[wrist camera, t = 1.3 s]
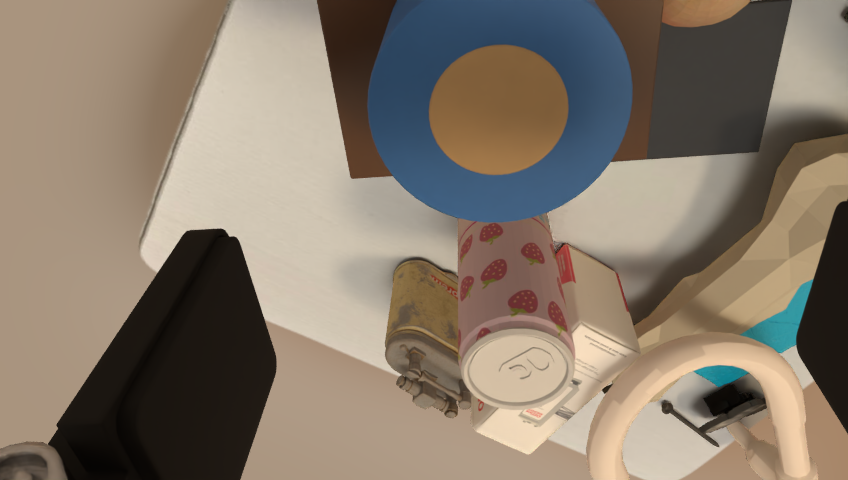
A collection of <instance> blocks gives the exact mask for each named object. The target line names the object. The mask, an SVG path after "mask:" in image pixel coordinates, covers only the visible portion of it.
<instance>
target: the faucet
mask: <svg viewBox="0 0 848 480" xmlns="http://www.w3.org/2000/svg"><path fill="white" fill-rule="evenodd" d="M715 365H726V366H734V367H738V368H742V369H744V370H746V371H747V372H749V373H750V374H752V375H753V376H754V377H755V378H756V379H757V380H758V382H759V383H760V385H761V388H762V390H763V393H764V395H765V400H766V405H767V411H768V416H769V419H770V420H771V422H772V423H773V427H774V433H775V438H776V444H777V447H776V446H775V445H772V444H769V443H767V442H765V441H764V440H758V439H757V438H756V437H755V436H754V435H753V434H752V433H751V432H750V431H749V430H748V429H747V428H746V427H745V426H744V425H743V424H742V423H741V422H740V421H736V422H734V423H732V424H730V425H728V426H726V427H727V429H728V430H729V432H730V434H731V435H732V436H733V437H734V438H735V440H736V441H737V442H738V443H739V444H740V446H741V447H742V448H743V449H744V450H745V453H746V459H747V461H748V462H749V465H750V467H751V468H752V469H753V470H754V471H755V472H756V473H757V474H758V475H759V476H760V477H761V478H762V479H763V480H818V472H817V466H816V464H815V463H814V461H813V460H812V458H811V457H809V453H808V446H807V439H806V432H805V425H804V423H805V422H806V411H805V404H804V398H803V391H802V388H801V385H800V382H799V379H798V377H797V376H796V374H795V372H794V371H793V369H792V368H791V366H790V365H789V364H788V362H787V361H786V360H785V359H784V358H783V357H782V356H781V355H780V354H779V353H778V352H777V351H775V350H774V349H773V348H771V347H769V346H767V345H765V344H763V343H761V342H759V341H756V340H754V339H751V338H748V337H744V336H741V335H737V334H733V333H720V332H707V333H700V334H694V335H688V336H682V337H680V338H677V339H674V340H671V341H668V342H665V343H663V344H661V345H659V346H657V347H656V348H654V349H652V350H651V351H649V352H647V353H646V354H644V355H642V356H641V357H640V358H639V359H638V360H636V361H635V362H634V363H633V364H632V365H631V366H630V367H629V368H627V369H626V370H625V371H624V372H623V373H622V375H621V376H620V377H619V378H618V379H617V380H616V382H615V383H614V384H613V385H612V386H611V387H610V389H609V390H608V392H607V393H606V395H605V396H604V398H603V400H602V401H601V403H600V404H599V406H598V408H597V410H596V413H595V415H594V418H593V420H592V423H591V426H590V431H589V436H588V442H587V447H586V454H587V465H588V468H589V471H590V473H591V476H592V479H593V480H629V475H628V472H627V470H626V467H625V465H624V462H623V457H622V446H623V441H624V438H625V436H626V434H627V432H628V429H629V427H630V425H631V424H632V422H633V421H634V419H635V418H636V416H637V415H638V413H639V412H640V410H641V409H642V408H643V407H644V406H645V405H646V404H647V403H648V402H649V401H650V400H651V398H652V397H653V396H654V395H656V394H657V393H658V392H659V391H661V390H662V389H663V388H664V387H666V386H667V385H668V384H669V383H671V382H673V381H675V380H676V379H678V378H680V377H681V376H683V375H685V374H686V373H689V372H692V371H695V370H697V369H700V368H703V367H707V366H715Z"/></svg>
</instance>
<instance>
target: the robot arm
mask: <svg viewBox="0 0 848 480" xmlns="http://www.w3.org/2000/svg"><path fill="white" fill-rule="evenodd" d="M796 345H797V350H798V354H799V356H800V358H801V359H802V361H803V363H804V364H805V366H806V368H807V369H808V371H809V372H810V374H811V376H812V377H813V379H814V380H815V382H816V384H817V385H818V387H819V388H820V390H821V391H822V393H823V395H824V396H825V398H826V400H827V401H828V403H829V404H830V406H831V408H832V409H833V411H834V412H835V414H836V415H837V417H838V419H839V420H840V422H841V424H842V425H843V427H844V428H845V430H846V432H847V433H848V199H847V201H842V202H840V203H839V204H838V205H837V206H836V209H835V211H834V214H833V217H832V220H831V224H830V227H829V230H828V233H827V237H826V240H825V243H824V246H823V250H822V253H821V256H820V259H819V263H818V266H817V269H816V272H815V276H814V279H813V282H812V285H811V289H810V292H809V295H808V298H807V302H806V305H805V308H804V311H803V315H802V318H801V321H800V324H799V328H798V331H797V335H796ZM275 374H276V355H275V351H274V348H273V345H272V342H271V339H270V335H269V332H268V329H267V326H266V323H265V320H264V317H263V314H262V310H261V307H260V304H259V301H258V298H257V295H256V292H255V289H254V286H253V282H252V279H251V276H250V273H249V270H248V267H247V264H246V261H245V258H244V254H243V251H242V248H241V245H240V243H239V240H238V239H237V238H236V237H234V236H233V237H229V236H228V234H227V232H226V231H225V230H223V229H205V230H190V231H186V232H185V233H184V235H183V236H182V237H181V239H180V240H179V242H178V243H177V245H176V246H175V248H174V249H173V251H172V252H171V254H170V255H169V257H168V258H167V260H166V261H165V263H164V264H163V266H162V267H161V269H160V270H159V272H158V273H157V275H156V276H155V278H154V280H153V281H152V282H151V284H150V285H149V287H148V288H147V290H146V291H145V293H144V294H143V296H142V297H141V299H140V300H139V302H138V303H137V305H136V306H135V308H134V309H133V311H132V312H131V314H130V315H129V317H128V318H127V320H126V321H125V323H124V324H123V326H122V327H121V329H120V330H119V332H118V333H117V335H116V336H115V338H114V339H113V341H112V342H111V344H110V345H109V347H108V348H107V350H106V351H105V353H104V354H103V356H102V357H101V359H100V360H99V362H98V363H97V365H96V366H95V368H94V369H93V371H92V372H91V374H90V375H89V377H88V378H87V380H86V381H85V383H84V384H83V386H82V387H81V389H80V390H79V392H78V393H77V395H76V396H75V398H74V399H73V401H72V402H71V404H70V405H69V407H68V408H67V410H66V411H65V413H64V414H63V416H62V417H61V419H60V420H59V422H58V423H57V427H58V430H57V431H56V433H55V434H54V436H53V437H52V439H51V440H50V442H49V443H48V445H47V444H45V443H43V442H24V443H19V444H14V445H9V446H6V447H4V448H1V449H0V480H240V479H241V476H242V473H243V470H244V467H245V463H246V461H247V458H248V455H249V452H250V449H251V446H252V443H253V440H254V437H255V434H256V431H257V428H258V425H259V422H260V419H261V416H262V413H263V410H264V407H265V404H266V401H267V398H268V395H269V392H270V389H271V386H272V383H273V381H274V378H275Z"/></svg>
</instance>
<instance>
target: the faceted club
mask: <svg viewBox="0 0 848 480" xmlns="http://www.w3.org/2000/svg"><path fill="white" fill-rule="evenodd" d="M847 199H848V134H844V135H838V136H832V137H826V138H821V139H815V140H809V141H803V142H798V143H794V144H793V146H792V147H791V149H790V150H789V152H788V153H787V155H786V156H785V158H784V160H783V161H782V163H781V164H780V166H779V167H778V169H777V171H776V175H775V178H774V181H773V185H772V188H771V192H770V195H769V198H768V202H767V205H766V208H765V211H764V214H763V218H762V221H761V222H760V223H759V224H758V225H756V226H755V227H754V228H753V229H752V230H751V231H749V232H748V233H747V234H746V235H745V236H743V237H742V238H741V239H740V240H739V241H737V242H736V243H735V244H734V245H733V246H732V247H730V248H729V249H728V250H727V251H726V252H724V253H723V254H722V255H721V256H720V257H718V258H717V259H716V260H715V261H714V262H712V263H711V264H710V265H709V266H708V267H707V268H705V269H704V270H703V271H702V272H700V273H697V274H693V275H690V276H687V277H684V278H683V279H682V280H681V281H680V282H679V283H678V284H677V285H676V287H675V288H674V289H673V290H672V291H671V292H670V293H669V294H668V295H667V297H666V298H665V299H664V300H663V301H662V302H661V303H660V304H659V305H658V306H657V308H656V309H655V310H654V311H653V312H652V313H651V314H650V315H649V316H648V317H646V318H645V319H643V320H642V321H640V322H639V323H637V324H636V325H634V330H635V333H636V336H637V340H638V343H639V346H640V350H641V355H640V356H639V357H638V358H637V359H636V360H638V359H639V358H640V357H641V356H642V355H644V354H646V353H647V352H649V351H651V350H652V349H654V348H656V347H657V346H659V345H661V344H663V343H665V342H668V341H671V340H674V339H677V338H680V337H682V336H688V335H694V334H700V333H707V332H720V333H733V334H737V335H740V334H742V333H743V332H745V331H747V330H748V329H750V328H752V327H753V326H755V325H756V324H758V323H760V322H762V321H764V320H766V319H767V318H769V317H771V316H773V315H775V314H777V313H779V312H781V311H783V310H785V309H786V308H787V306H788V304H789V303H790V301H791V300H792V298H793V296H794V295H795V293H796V292H797V290H798V288H799V287H800V286H801V285H802V284H803V283H805V282H808V281H810V280H813V279H814V276H815V272H816V269H817V266H818V263H819V259H820V256H821V253H822V250H823V246H824V243H825V240H826V237H827V233H828V230H829V227H830V224H831V220H832V217H833V214H834V211H835V209H836V206H837V205H838V204H839V203H840V202H842V201H847ZM636 360H635V361H636ZM635 361H634V362H635ZM634 362H633V363H634ZM633 363H631V364H630V365H629V366H628V367H627V368H629V367H630V366H631V365H632V364H633ZM627 368H626V369H627ZM626 369H625V370H626ZM625 370H623V371H622V372H621V373H620V374H619V375H618V376H617V377H616V378H615V379H614V380H612V384H611V385H609V386H606V387H604V388H603V389H602V390H603V392H604V394H605V393H606V392H608V390H609V389H610V387H611V386H612V385H613V384H614V383H615V382H616V380H617V379H618V378H619V377H620V376H621V375H622V373H623V372H624V371H625ZM681 377H682V376H681ZM681 377H680V378H681ZM680 378H678V379H676V380H675V381H673V382H671V383H669V384H668V385H667V386H666V387H664V388H663V389H662V390H661V391H659V392H658V393H657V394H656V395H654V396H653V397H652V398H651V400H650V401H649V402H655V401H659V399H660V398H661V397H662V396H663V394H664V393H665V392H666V391H667V390H668V389H669V388H670V387H671V386H673V385H674V384H675V383H676V382H677V381H678V380H679V379H680ZM649 402H648V403H649Z"/></svg>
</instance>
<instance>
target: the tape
mask: <svg viewBox="0 0 848 480" xmlns="http://www.w3.org/2000/svg"><path fill="white" fill-rule="evenodd" d="M632 89H633V85H632V77H631V69H630V66H629V62H628V58H627V55H626V52H625V50H624V47H623V45H622V43H621V41H620V38H619V36H618V35H617V33H616V32H615V30H614V29H613V27H612V26H611V24H610V23H609V21H608V20H607V18H606V17H605V15H604V14H603V12H602V11H601V10H600V8H599V7H598V5H597V4H596V2H595V1H594V0H397V1H396V3H395V5H394V7H393V10H392V13H391V16H390V19H389V22H388V25H387V28H386V31H385V34H384V37H383V40H382V43H381V46H380V49H379V52H378V55H377V58H376V61H375V64H374V67H373V70H372V73H371V78H370V83H369V89H368V106H367V107H368V118H369V125H370V129H371V133H372V138H373V140H374V143H375V145H376V148H377V151H378V153H379V155H380V157H381V158H382V160H383V162H384V164H385V166H386V167H387V168H388V170H389V171H390V173H391V174H392V175H393V177H394V178H395V179H396V180H397V181H398V182H399V183H400V184H401V185H402V186H403V187H404V188H405V189H406V190H407V191H408V192H409V193H411V194H412V195H413V196H414V197H415V198H417V199H418V200H420V201H421V202H423V203H425V204H426V205H428V206H429V207H431V208H433V209H436V210H438V211H440V212H442V213H444V214H447V215H450V216H453V217H456V218H460V219H465V220H469V221H477V222H486V223H502V222H511V221H519V220H523V219H527V218H532V217H535V216H538V215H541V214H544V213H547V212H549V211H551V210H553V209H555V208H558V207H560V206H562V205H563V204H565V203H567V202H568V201H570V200H572V199H573V198H575V197H576V196H577V195H579V194H580V193H581V192H583V191H584V190H585V189H586V188H588V187H589V186H590V185H591V184H592V183H593V182H594V181H595V180H596V179H597V178H598V177H599V176H600V175H601V173H602V172H603V171H604V170H605V168H606V167H607V166H608V165H609V163H610V162H611V160H612V158H613V157H614V155H615V154H616V152H617V150H618V148H619V146H620V144H621V142H622V140H623V137H624V135H625V132H626V129H627V126H628V122H629V119H630V113H631V107H632Z"/></svg>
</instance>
